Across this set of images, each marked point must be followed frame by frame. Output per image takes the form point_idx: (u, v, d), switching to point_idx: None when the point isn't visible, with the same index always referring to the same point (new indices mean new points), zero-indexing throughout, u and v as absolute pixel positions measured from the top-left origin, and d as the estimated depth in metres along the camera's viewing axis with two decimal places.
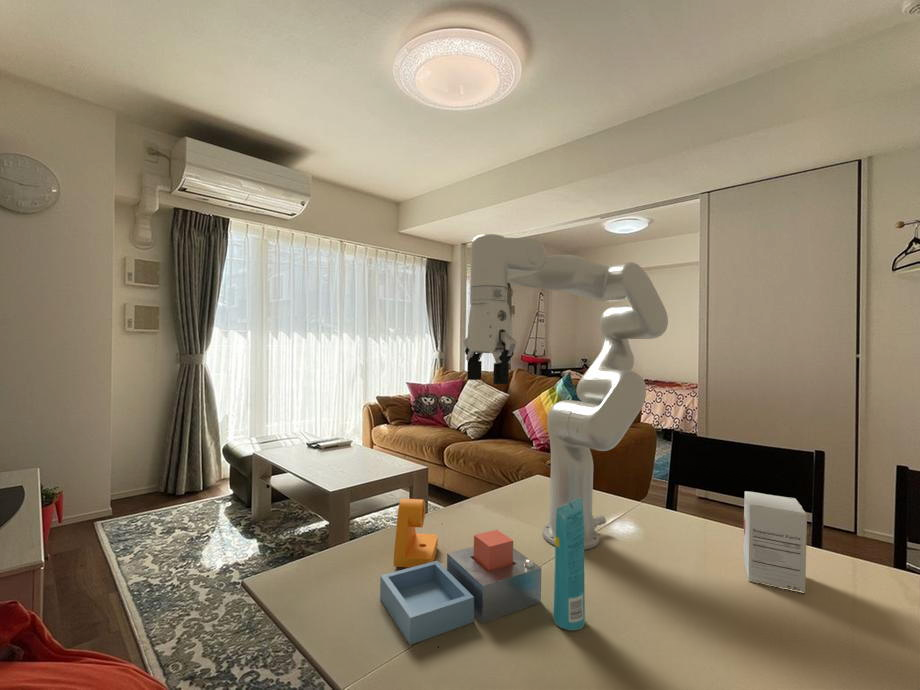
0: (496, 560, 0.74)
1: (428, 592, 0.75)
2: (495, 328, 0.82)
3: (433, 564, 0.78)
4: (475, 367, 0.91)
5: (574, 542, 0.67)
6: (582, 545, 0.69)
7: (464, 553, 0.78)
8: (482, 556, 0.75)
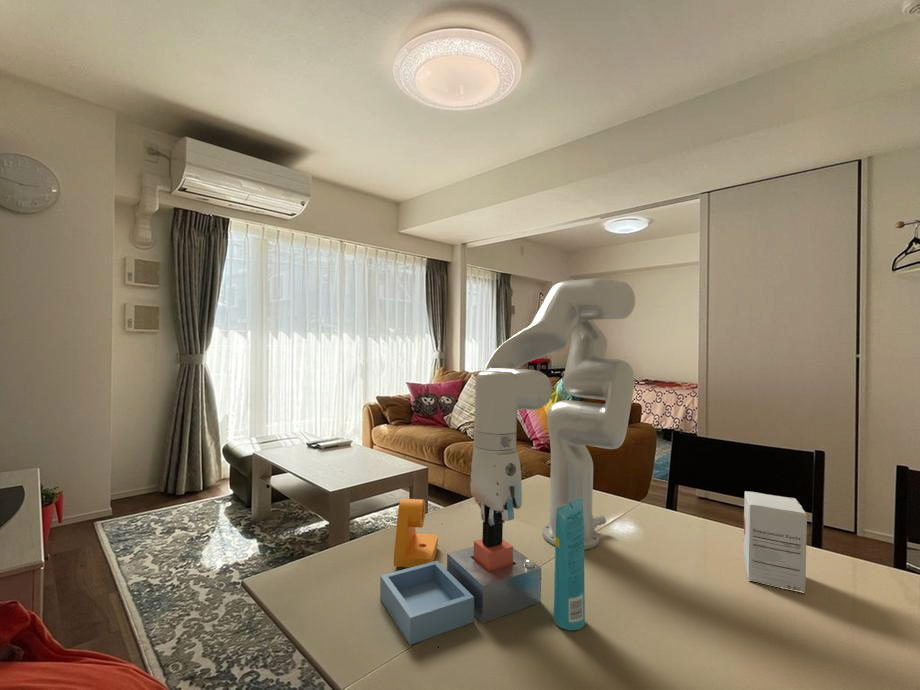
0: (496, 566, 0.74)
1: (428, 592, 0.75)
2: (503, 486, 0.71)
3: (433, 564, 0.78)
4: None
5: (574, 542, 0.67)
6: (582, 545, 0.69)
7: (464, 553, 0.78)
8: (482, 562, 0.75)
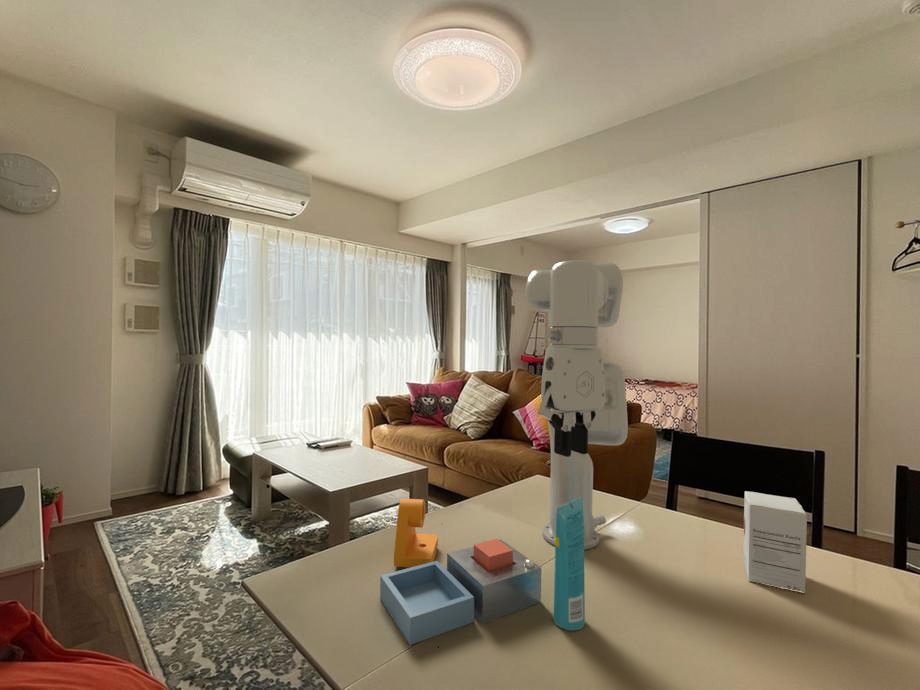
0: None
1: (428, 592, 0.75)
2: (542, 379, 0.68)
3: (433, 564, 0.78)
4: (577, 436, 0.70)
5: (574, 542, 0.67)
6: (582, 545, 0.69)
7: (464, 553, 0.78)
8: (482, 566, 0.75)
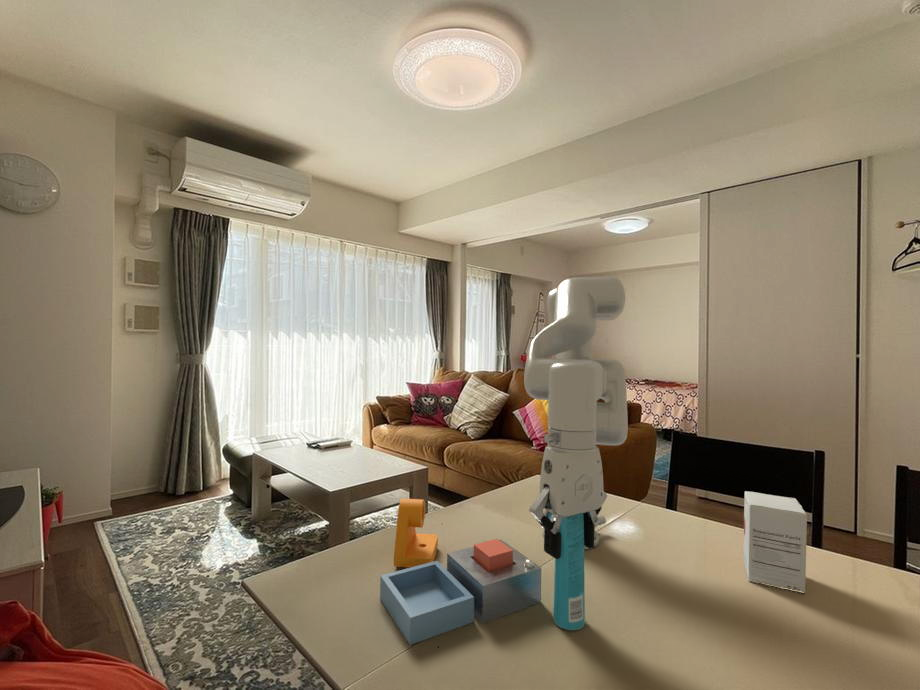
0: None
1: (428, 592, 0.75)
2: (541, 480, 0.68)
3: (433, 564, 0.78)
4: None
5: (574, 542, 0.67)
6: (582, 545, 0.69)
7: (464, 553, 0.78)
8: (482, 566, 0.75)
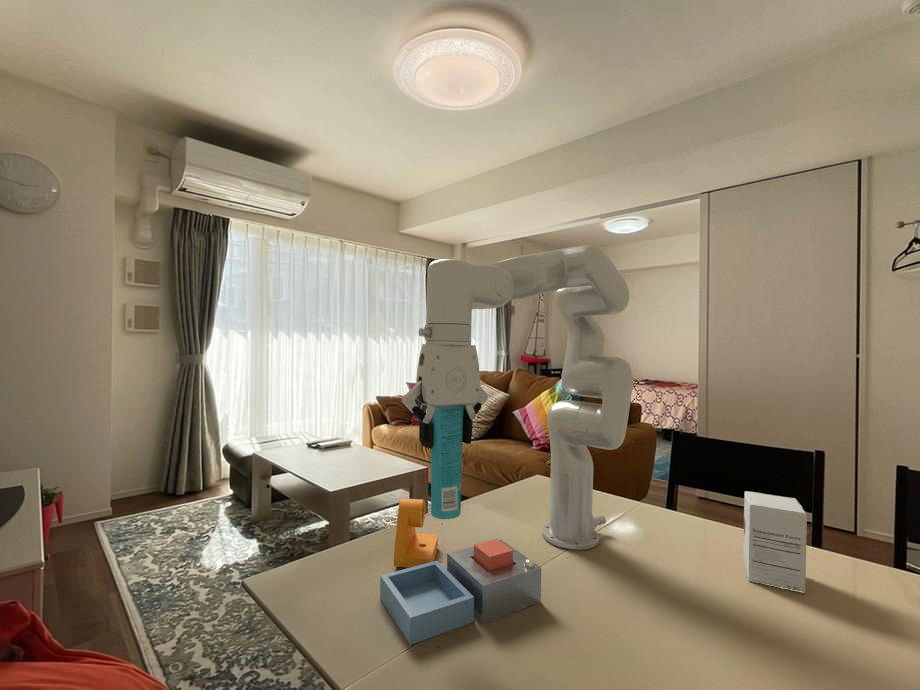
0: None
1: (428, 592, 0.75)
2: (417, 374, 0.70)
3: (433, 564, 0.78)
4: None
5: (448, 434, 0.69)
6: (459, 439, 0.71)
7: (464, 553, 0.78)
8: (482, 566, 0.75)
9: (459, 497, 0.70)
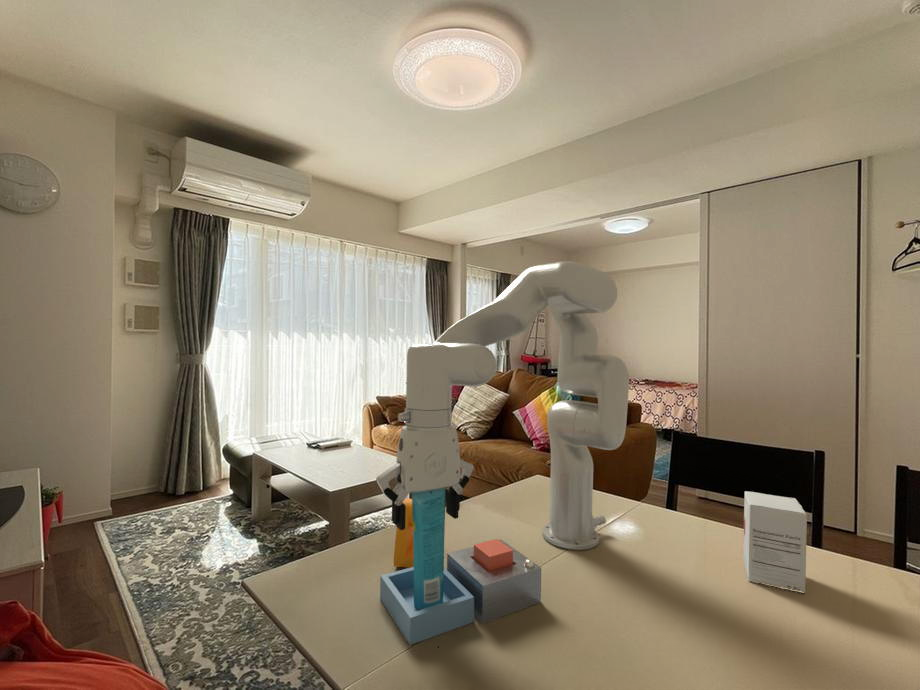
0: None
1: None
2: (397, 458, 0.70)
3: None
4: (450, 500, 0.74)
5: (430, 526, 0.70)
6: (441, 529, 0.71)
7: (464, 553, 0.78)
8: (482, 566, 0.75)
9: (441, 587, 0.71)
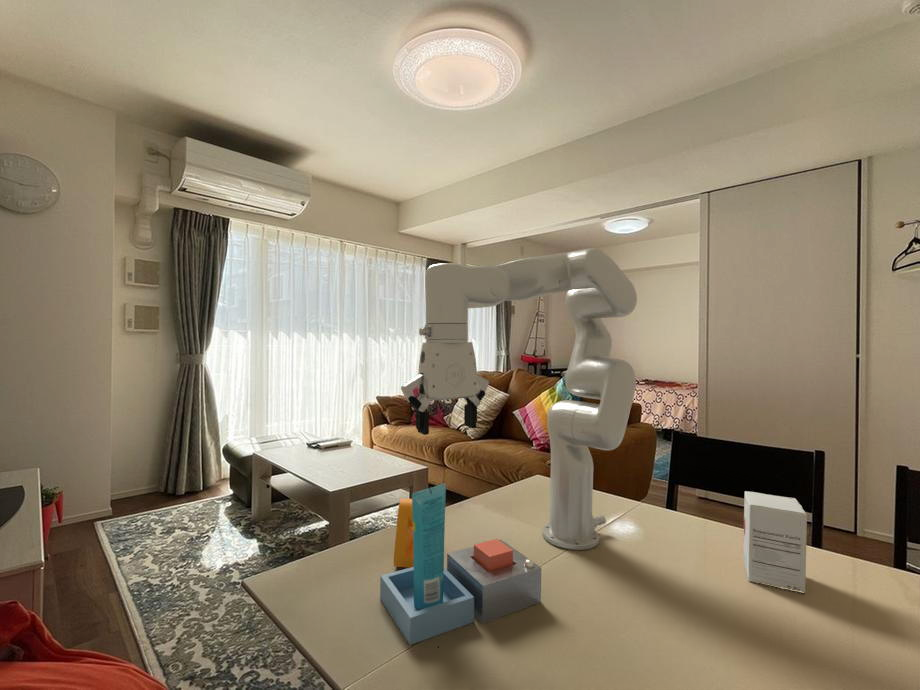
0: None
1: None
2: None
3: None
4: (468, 412, 0.79)
5: (430, 526, 0.70)
6: (441, 529, 0.71)
7: (464, 553, 0.78)
8: (482, 566, 0.75)
9: (441, 587, 0.71)
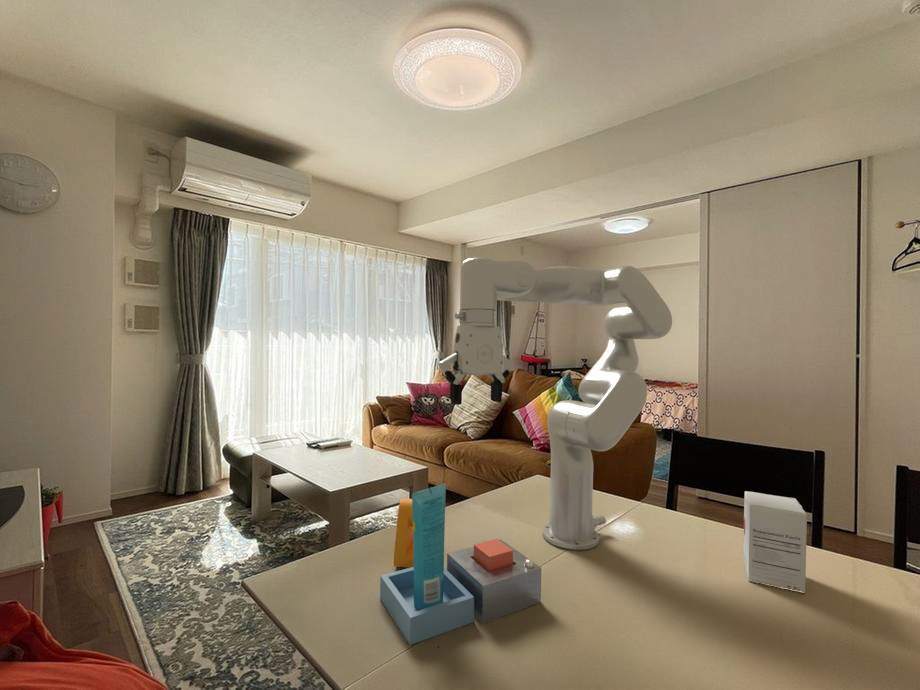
0: None
1: None
2: (453, 350, 0.87)
3: None
4: (494, 389, 0.91)
5: (430, 526, 0.70)
6: (441, 529, 0.71)
7: (464, 553, 0.78)
8: (482, 566, 0.75)
9: (441, 587, 0.71)
